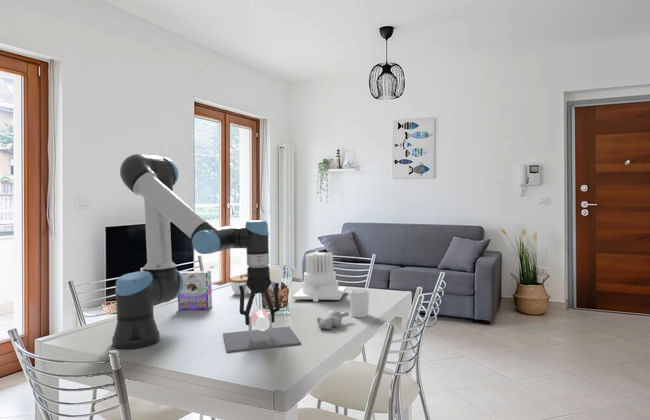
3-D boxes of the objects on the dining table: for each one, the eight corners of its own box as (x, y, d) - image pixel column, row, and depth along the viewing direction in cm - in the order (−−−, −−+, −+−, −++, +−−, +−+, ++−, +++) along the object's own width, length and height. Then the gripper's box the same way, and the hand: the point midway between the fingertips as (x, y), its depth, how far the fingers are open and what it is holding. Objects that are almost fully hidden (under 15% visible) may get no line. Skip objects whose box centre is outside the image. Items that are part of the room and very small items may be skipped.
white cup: (368, 312, 194) (367, 288, 194) (370, 317, 186) (370, 292, 186) (349, 313, 194) (348, 289, 193) (350, 318, 186) (350, 293, 185)
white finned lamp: (339, 303, 212) (337, 256, 212) (292, 302, 216) (290, 256, 216) (346, 291, 237) (345, 249, 236) (304, 291, 241) (302, 249, 240)
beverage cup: (249, 322, 153) (245, 312, 166) (260, 337, 154) (254, 326, 167) (265, 311, 154) (260, 302, 168) (275, 326, 155) (269, 315, 169)
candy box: (212, 306, 211) (211, 270, 211) (208, 310, 206) (207, 272, 205) (183, 306, 213) (181, 270, 212) (177, 310, 207) (176, 272, 206)
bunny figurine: (311, 318, 172) (329, 304, 185) (312, 332, 173) (330, 317, 186) (334, 321, 168) (351, 306, 181) (335, 334, 169) (352, 319, 182)
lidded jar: (257, 292, 240) (256, 274, 240) (242, 296, 231) (242, 277, 231) (241, 290, 246) (240, 272, 245) (226, 294, 237) (226, 276, 236)
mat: (301, 344, 155) (301, 342, 155) (226, 352, 149) (226, 350, 149) (289, 328, 174) (289, 326, 174) (223, 334, 168) (222, 333, 168)
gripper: (230, 269, 155) (232, 339, 155) (287, 265, 160) (289, 333, 160) (229, 266, 162) (231, 332, 163) (283, 262, 167) (285, 327, 168)
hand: (260, 332), depth 162 cm, fingers closed on beverage cup, 6 cm apart
